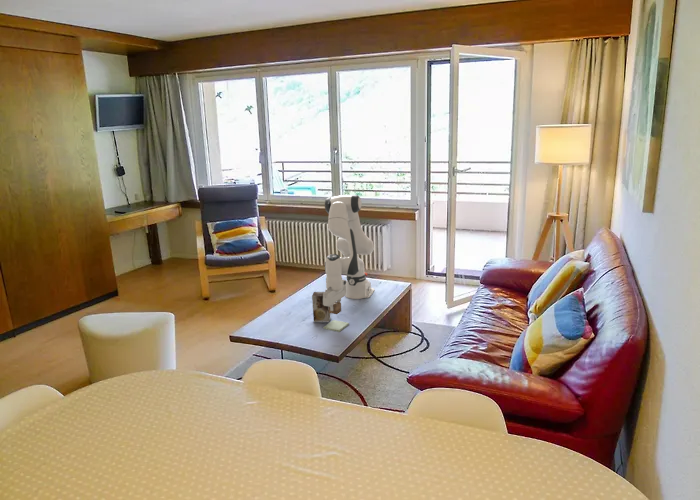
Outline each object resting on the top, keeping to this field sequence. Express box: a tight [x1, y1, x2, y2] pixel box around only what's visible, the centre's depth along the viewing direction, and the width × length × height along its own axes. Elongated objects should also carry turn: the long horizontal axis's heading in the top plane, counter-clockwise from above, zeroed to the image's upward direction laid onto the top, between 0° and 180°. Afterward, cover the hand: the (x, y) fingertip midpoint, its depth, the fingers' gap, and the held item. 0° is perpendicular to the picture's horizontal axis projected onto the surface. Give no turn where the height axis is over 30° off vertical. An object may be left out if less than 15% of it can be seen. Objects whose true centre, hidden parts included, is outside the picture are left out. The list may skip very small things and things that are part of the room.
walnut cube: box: [329, 301, 342, 315], centre depth 274 cm, size 5×5×5 cm
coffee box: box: [311, 291, 331, 323], centre depth 284 cm, size 9×6×16 cm
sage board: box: [323, 319, 350, 333], centre depth 276 cm, size 11×10×1 cm
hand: (335, 308), depth 274 cm, fingers closed on walnut cube, 5 cm apart
